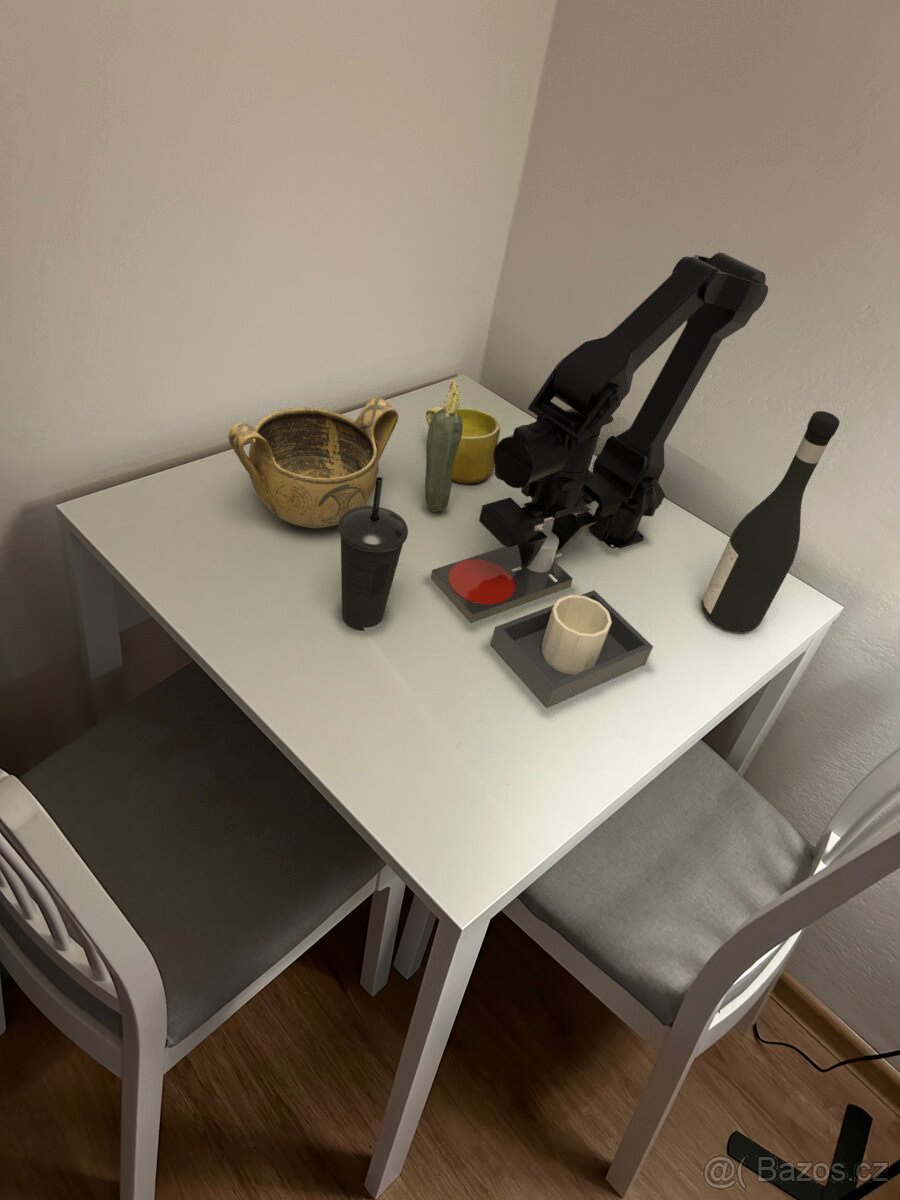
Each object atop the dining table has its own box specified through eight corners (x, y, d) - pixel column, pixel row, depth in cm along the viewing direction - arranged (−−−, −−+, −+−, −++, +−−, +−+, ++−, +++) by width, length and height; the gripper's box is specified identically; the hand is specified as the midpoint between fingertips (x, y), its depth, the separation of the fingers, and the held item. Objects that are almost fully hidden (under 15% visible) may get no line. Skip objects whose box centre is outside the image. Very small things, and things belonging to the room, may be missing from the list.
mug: (520, 469, 132) (508, 411, 126) (464, 503, 129) (449, 445, 123) (473, 440, 141) (460, 385, 134) (420, 471, 138) (403, 416, 131)
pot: (572, 628, 110) (585, 589, 106) (607, 664, 107) (622, 625, 102) (530, 644, 107) (542, 605, 103) (565, 682, 103) (578, 642, 99)
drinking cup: (403, 608, 109) (426, 472, 96) (379, 647, 104) (399, 509, 90) (346, 587, 110) (360, 450, 97) (319, 625, 105) (330, 485, 92)
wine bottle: (689, 615, 117) (781, 414, 97) (711, 586, 122) (803, 390, 102) (746, 645, 114) (853, 445, 94) (767, 614, 119) (871, 419, 99)
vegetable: (442, 526, 123) (466, 397, 109) (412, 518, 123) (432, 388, 110) (449, 508, 126) (473, 380, 113) (419, 500, 126) (440, 372, 113)
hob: (536, 546, 122) (540, 534, 121) (578, 586, 117) (582, 574, 116) (429, 581, 114) (432, 568, 112) (469, 626, 109) (472, 613, 107)
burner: (488, 553, 117) (489, 552, 116) (527, 593, 112) (527, 592, 112) (435, 570, 112) (435, 569, 112) (473, 612, 108) (473, 611, 108)
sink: (586, 610, 114) (594, 589, 112) (644, 667, 108) (653, 646, 106) (489, 648, 106) (494, 626, 104) (545, 711, 100) (552, 690, 98)
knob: (539, 549, 119) (546, 524, 116) (558, 567, 116) (566, 542, 114) (515, 557, 117) (522, 531, 114) (534, 576, 114) (541, 550, 112)
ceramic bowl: (262, 569, 110) (264, 468, 100) (206, 494, 120) (202, 394, 110) (413, 525, 122) (428, 430, 112) (351, 459, 131) (359, 366, 121)
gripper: (582, 411, 115) (554, 508, 125) (464, 439, 106) (444, 541, 116) (640, 457, 109) (606, 555, 119) (520, 491, 100) (494, 594, 110)
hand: (537, 559), depth 116 cm, fingers closed on knob, 4 cm apart
